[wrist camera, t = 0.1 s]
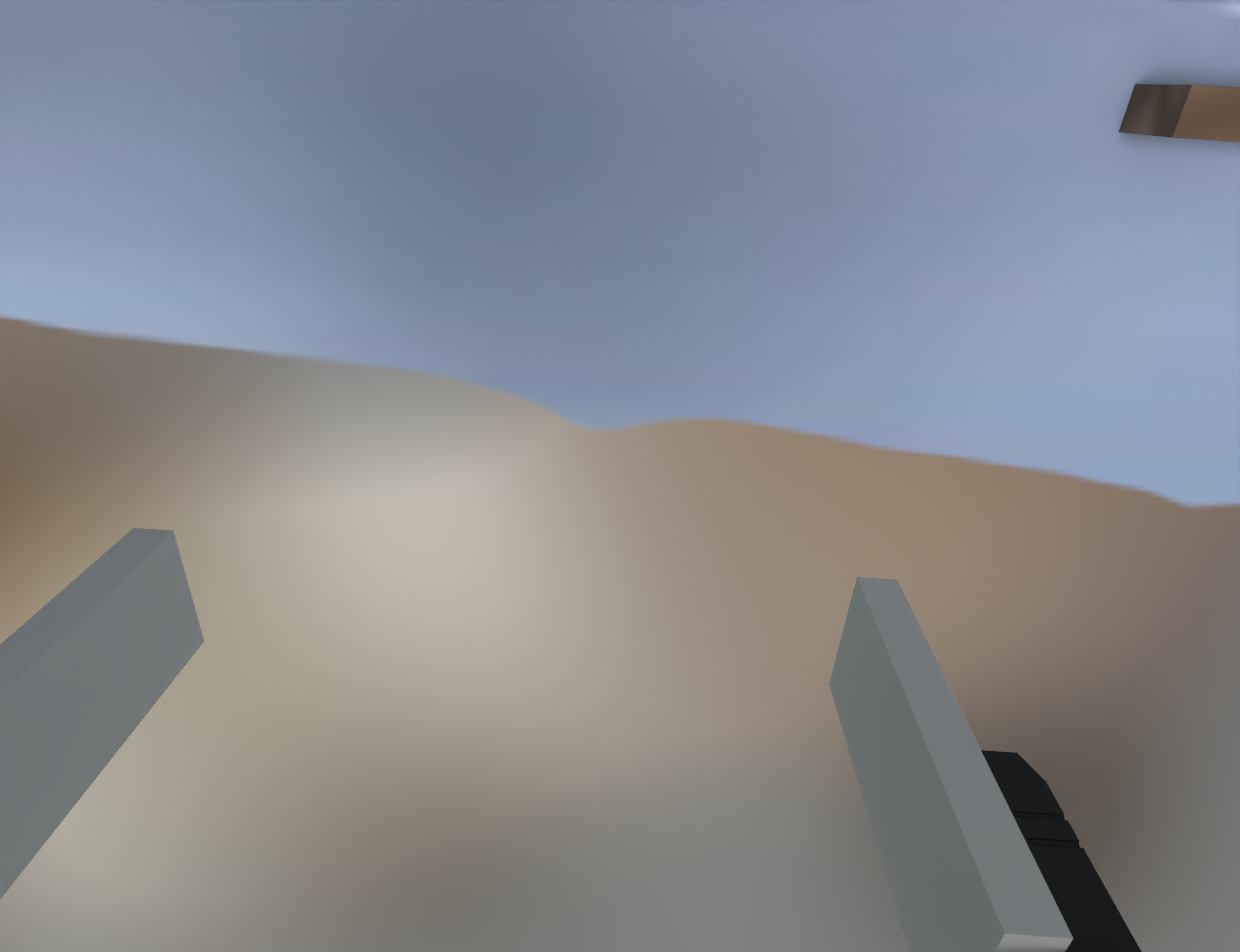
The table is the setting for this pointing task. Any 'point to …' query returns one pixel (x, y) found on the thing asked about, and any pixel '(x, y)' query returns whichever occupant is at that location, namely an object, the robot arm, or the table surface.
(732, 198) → the table surface
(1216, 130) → the brown flat block
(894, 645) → the robot arm
